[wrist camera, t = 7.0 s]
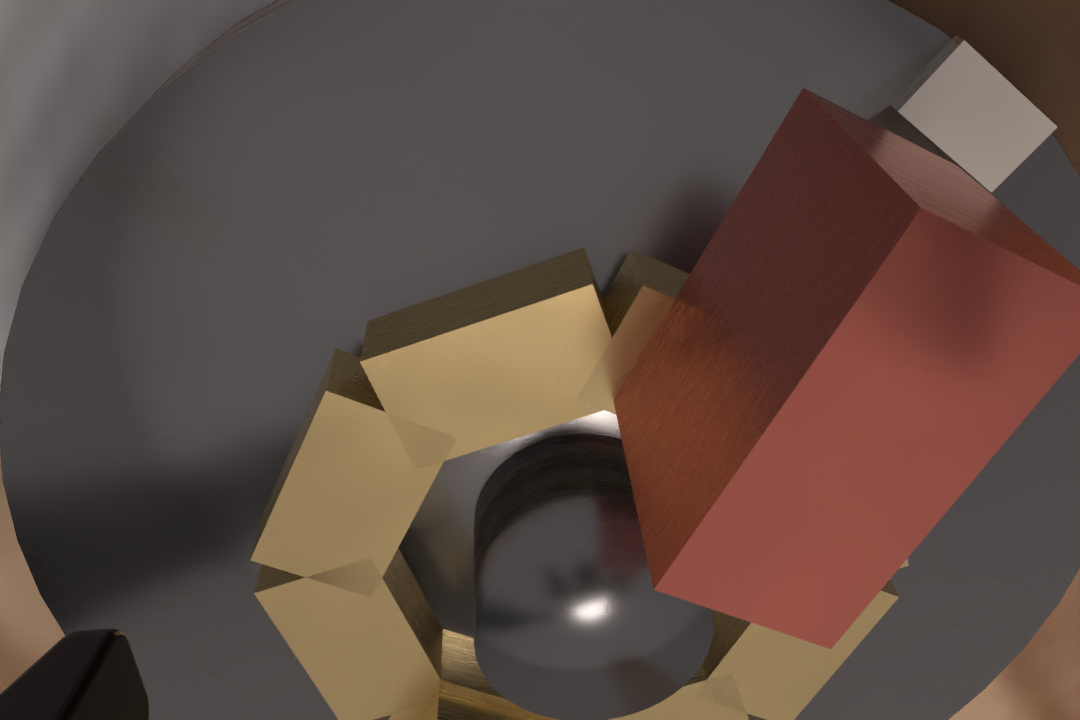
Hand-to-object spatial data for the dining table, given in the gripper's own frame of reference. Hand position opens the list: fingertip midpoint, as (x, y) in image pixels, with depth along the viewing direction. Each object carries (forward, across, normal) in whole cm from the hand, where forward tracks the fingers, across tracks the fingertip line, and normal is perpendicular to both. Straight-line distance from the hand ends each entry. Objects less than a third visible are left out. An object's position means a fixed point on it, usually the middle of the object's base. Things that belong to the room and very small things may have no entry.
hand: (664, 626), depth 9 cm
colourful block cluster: (+7, 0, +5) cm, 9 cm away
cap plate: (+9, 0, +5) cm, 10 cm away
